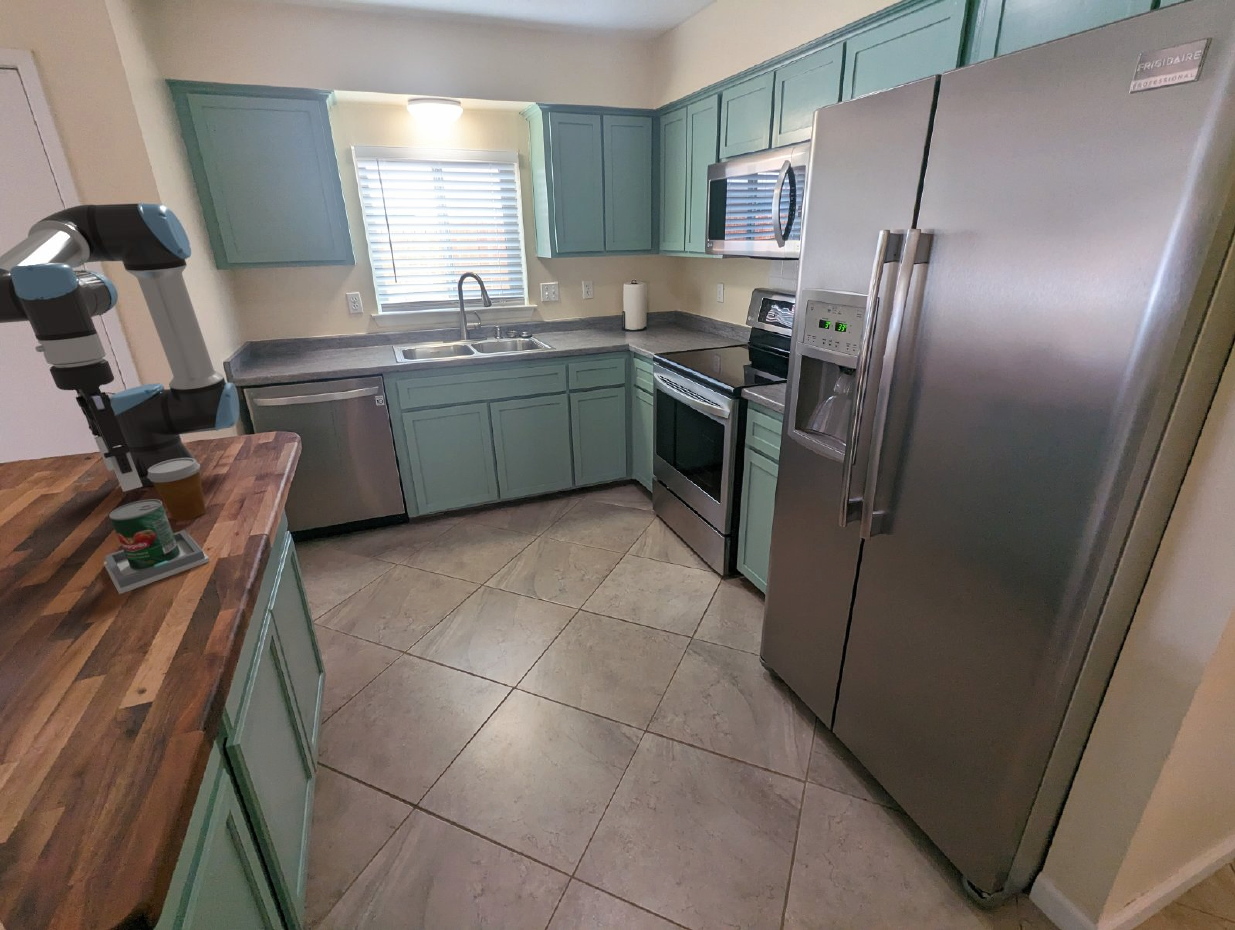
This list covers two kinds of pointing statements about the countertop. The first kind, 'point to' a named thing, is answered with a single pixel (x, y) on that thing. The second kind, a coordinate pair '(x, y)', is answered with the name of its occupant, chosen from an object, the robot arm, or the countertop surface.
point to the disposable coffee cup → (179, 487)
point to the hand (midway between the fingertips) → (124, 478)
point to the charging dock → (133, 579)
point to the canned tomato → (144, 533)
